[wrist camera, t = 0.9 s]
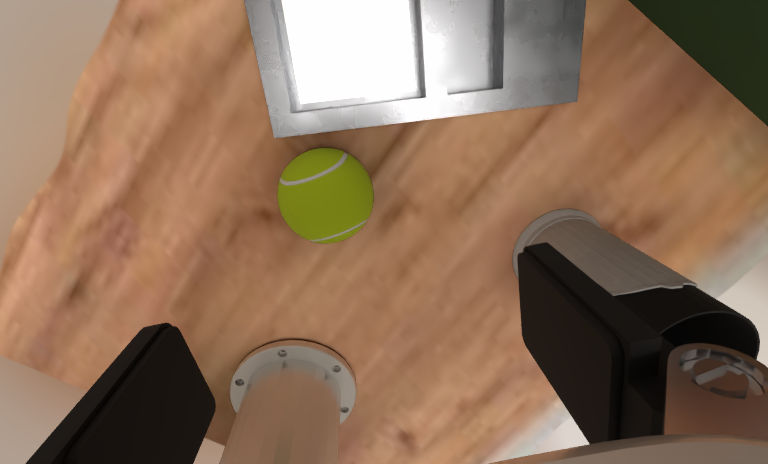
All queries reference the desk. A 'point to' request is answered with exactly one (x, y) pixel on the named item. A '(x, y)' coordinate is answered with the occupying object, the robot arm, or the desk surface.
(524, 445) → the desk surface
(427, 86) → the tray
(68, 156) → the desk surface
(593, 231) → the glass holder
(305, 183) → the tennis ball
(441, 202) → the desk surface
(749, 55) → the books
